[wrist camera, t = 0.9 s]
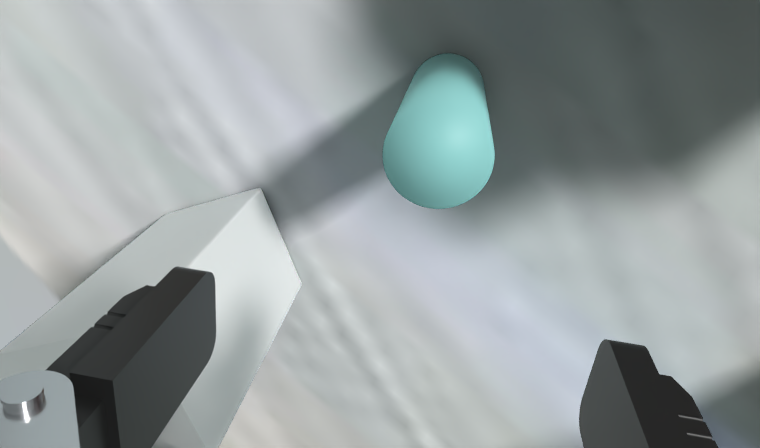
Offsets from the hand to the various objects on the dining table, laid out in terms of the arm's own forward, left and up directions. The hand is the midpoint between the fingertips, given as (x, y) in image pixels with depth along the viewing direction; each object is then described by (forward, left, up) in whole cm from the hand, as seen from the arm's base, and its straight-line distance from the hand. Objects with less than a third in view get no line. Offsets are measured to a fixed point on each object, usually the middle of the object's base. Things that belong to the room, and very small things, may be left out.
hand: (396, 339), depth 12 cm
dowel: (0, -1, -22) cm, 22 cm away
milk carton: (+12, +11, -22) cm, 27 cm away
